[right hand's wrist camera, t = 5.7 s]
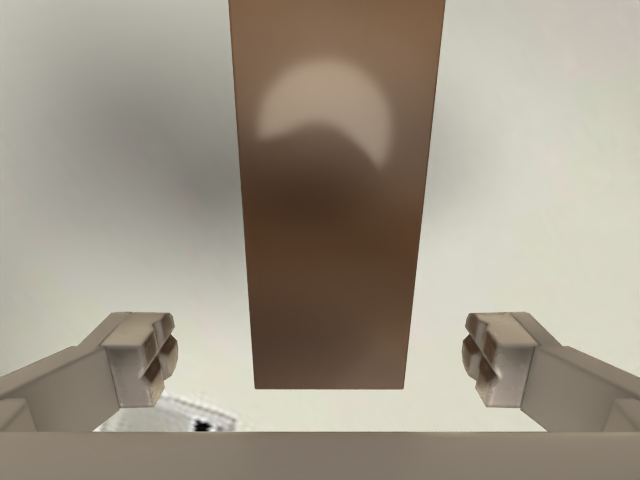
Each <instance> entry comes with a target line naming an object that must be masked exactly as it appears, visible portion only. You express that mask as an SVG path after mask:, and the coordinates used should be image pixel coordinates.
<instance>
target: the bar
mask: <svg viewBox="0 0 640 480" xmlns="http://www.w3.org/2000/svg"><path fill="white" fill-rule="evenodd" d="M445 1H446V0H228V2H229V17H230V32H231V46H232V61H233V76H234V90H235V105H236V120H237V135H238V149H239V164H240V179H241V194H242V208H243V223H244V238H245V252H246V267H247V282H248V297H249V311H250V326H251V341H252V356H253V370H254V385H255V389H403V388H404V380H405V371H406V361H407V352H408V343H409V334H410V324H411V315H412V306H413V297H414V287H415V278H416V269H417V260H418V250H419V241H420V232H421V223H422V213H423V204H424V195H425V186H426V176H427V167H428V158H429V149H430V139H431V130H432V121H433V112H434V102H435V93H436V84H437V75H438V65H439V56H440V47H441V38H442V28H443V19H444V10H445Z"/></svg>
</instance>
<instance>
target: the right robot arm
mask: <svg viewBox="0 0 640 480" xmlns="http://www.w3.org/2000/svg"><path fill="white" fill-rule="evenodd" d="M174 327H175V326H174V321H173V316H172V315H171V314H170V313H154V312H114V313H111V314H110V315H109V316H108V317H107V318H106V319H105V320H104V321H103V322H102V323H101V324H100V325H99V326H98V327H97V328H96V329H94V330H93V331H92V332H91V333H90V334H89V335H88V336H87V337H86V338H85V339H84V340H83V341H82V342H81V343H80V344H79V345H78V346H71V347H69V348H66V349H64V350H62V351H60V352H57V353H55V354H53V355H51V356H48V357H46V358H44V359H41V360H39V361H37V362H35V363H32V364H30V365H28V366H26V367H23V368H21V369H19V370H16V371H14V372H12V373H10V374H7V375H5V376H3V377H1V378H0V480H640V378H639V377H637V376H635V375H632V374H630V373H628V372H626V371H623V370H621V369H619V368H617V367H614V366H612V365H610V364H608V363H605V362H603V361H601V360H598V359H596V358H594V357H592V356H589V355H587V354H585V353H583V352H580V351H578V350H576V349H574V348H571V347H569V346H562V345H561V344H560V343H559V342H558V341H557V340H556V339H555V338H554V337H553V336H552V335H551V334H550V333H549V332H548V331H547V330H546V329H545V328H544V327H543V326H542V325H540V324H539V323H538V322H537V321H536V320H535V319H534V318H533V317H532V316H531V315H530V314H529V313H527V312H501V313H470V314H469V315H468V317H467V320H466V326H465V327H466V329H467V330H468V332H469V333H470V334H469V335H468V336H467V337H466V338H465V339H464V340H463V346H462V358H463V364H464V367H465V370H466V372H467V373H468V375H469V376H470V377H471V378H473V379H475V380H476V387H475V388H476V390H477V392H478V394H479V395H480V397H481V399H482V401H483V402H484V404H485V406H486V407H498V408H521V409H520V410H521V411H523V412H524V413H525V414H527V415H528V416H529V417H530V418H532V419H533V420H534V421H536V422H537V423H538V424H539V425H541V426H542V427H543V428H544V429H546V430H547V431H548V432H92V431H93V430H94V429H96V428H97V427H98V426H100V425H101V424H102V423H103V422H105V421H106V420H107V419H108V418H110V417H111V416H112V415H114V414H115V413H116V412H117V411H119V408H141V407H154V406H155V404H156V402H157V401H158V399H159V397H160V395H161V394H162V392H163V390H164V388H165V387H164V380H166V379H167V378H169V377H170V376H171V375H172V373H173V372H174V370H175V367H176V363H177V359H178V345H177V340H176V339H175V338H174V337H173V336H172V335H171V334H170V333H171V332H172V330H173V329H174Z"/></svg>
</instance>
